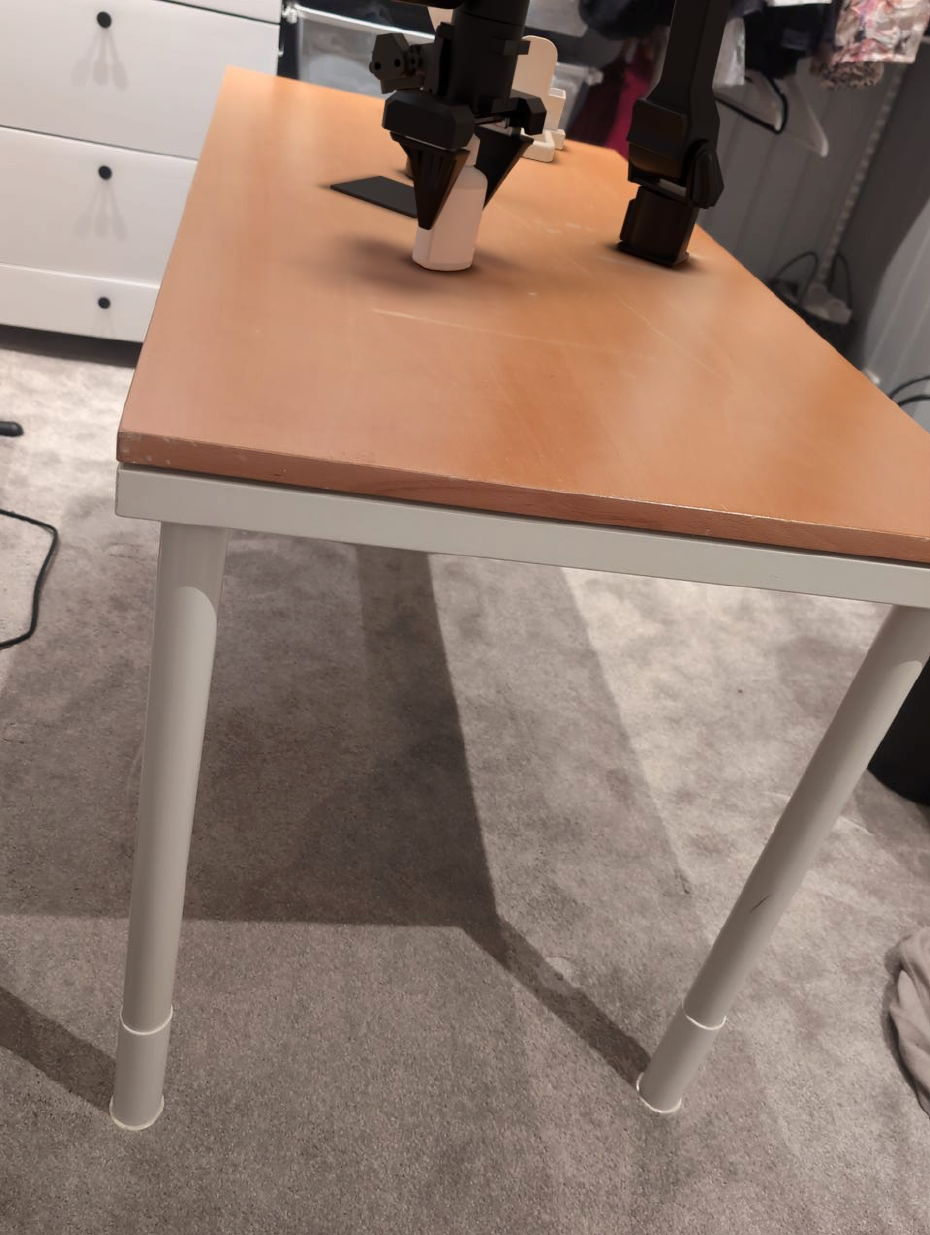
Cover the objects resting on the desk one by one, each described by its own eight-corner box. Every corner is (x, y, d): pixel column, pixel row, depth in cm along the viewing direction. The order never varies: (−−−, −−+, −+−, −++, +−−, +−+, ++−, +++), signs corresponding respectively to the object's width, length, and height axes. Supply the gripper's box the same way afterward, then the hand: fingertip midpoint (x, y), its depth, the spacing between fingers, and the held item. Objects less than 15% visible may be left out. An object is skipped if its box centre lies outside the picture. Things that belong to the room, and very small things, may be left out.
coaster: (459, 205, 109) (460, 203, 109) (414, 217, 101) (414, 214, 101) (380, 178, 112) (380, 175, 112) (329, 188, 104) (330, 185, 104)
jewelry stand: (559, 144, 152) (606, -51, 138) (569, 167, 140) (622, -46, 126) (393, 107, 149) (424, -97, 135) (388, 127, 136) (422, -96, 122)
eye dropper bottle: (476, 277, 89) (507, 130, 83) (414, 268, 88) (440, 117, 81) (467, 261, 93) (496, 119, 86) (406, 252, 91) (431, 106, 85)
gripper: (453, -4, 89) (421, 183, 98) (337, -15, 74) (311, 206, 83) (568, 28, 86) (524, 218, 95) (470, 24, 71) (429, 249, 80)
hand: (450, 221), depth 88 cm, fingers open, 9 cm apart
